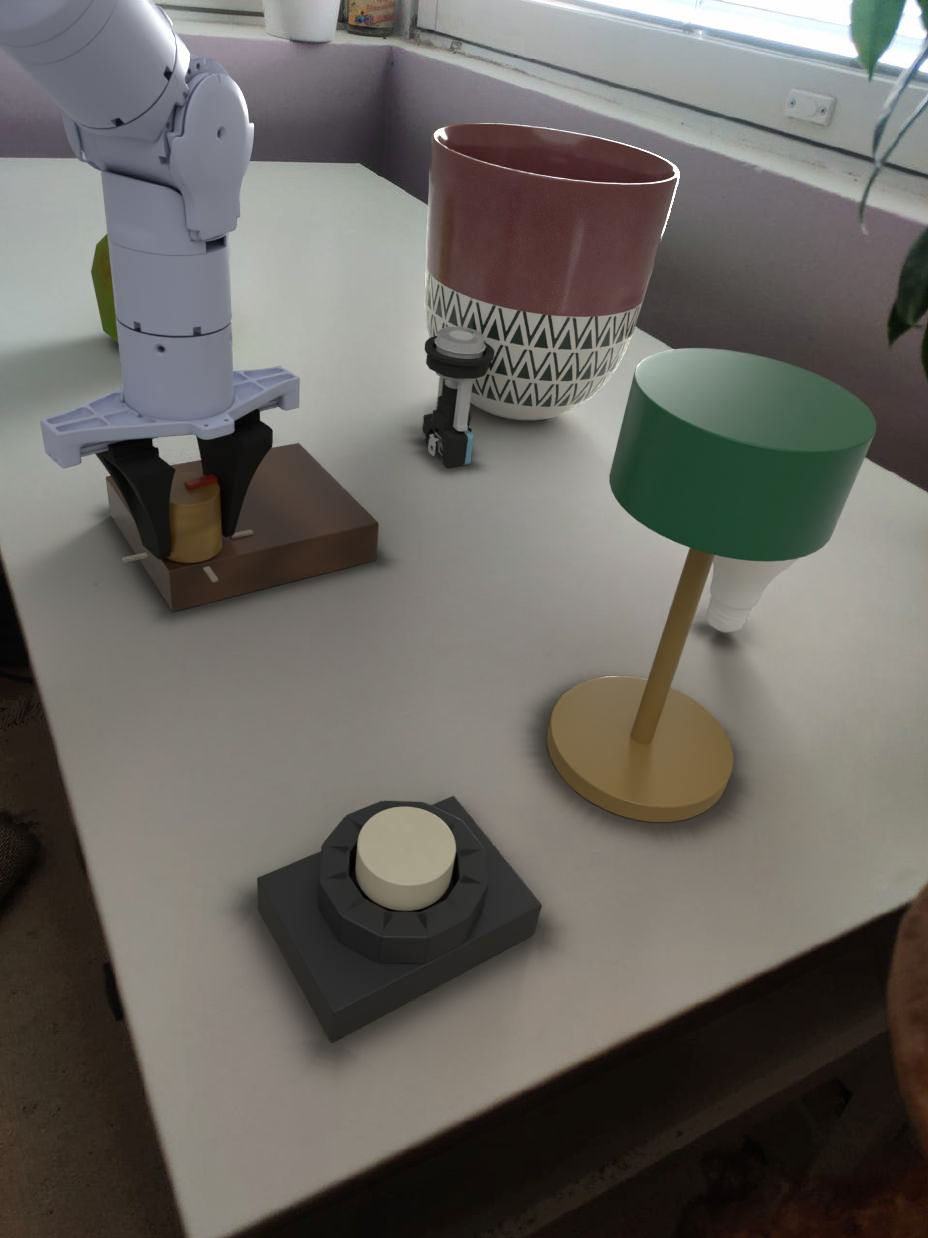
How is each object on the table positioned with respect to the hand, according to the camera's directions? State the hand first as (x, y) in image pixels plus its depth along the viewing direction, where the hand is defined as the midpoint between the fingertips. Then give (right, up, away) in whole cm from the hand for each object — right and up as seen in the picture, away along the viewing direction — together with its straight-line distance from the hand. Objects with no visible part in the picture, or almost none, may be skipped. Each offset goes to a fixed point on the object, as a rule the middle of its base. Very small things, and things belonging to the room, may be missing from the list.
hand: (189, 539), depth 56 cm
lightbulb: (+33, -6, +6) cm, 34 cm away
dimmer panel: (+1, 0, +6) cm, 6 cm away
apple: (-11, +21, +31) cm, 39 cm away
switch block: (+14, -18, -15) cm, 27 cm away
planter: (+21, +15, +30) cm, 39 cm away
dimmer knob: (0, 0, 0) cm, 0 cm away
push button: (+15, +9, +21) cm, 27 cm away
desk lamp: (+26, -12, -5) cm, 29 cm away
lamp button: (+14, -15, -17) cm, 27 cm away
